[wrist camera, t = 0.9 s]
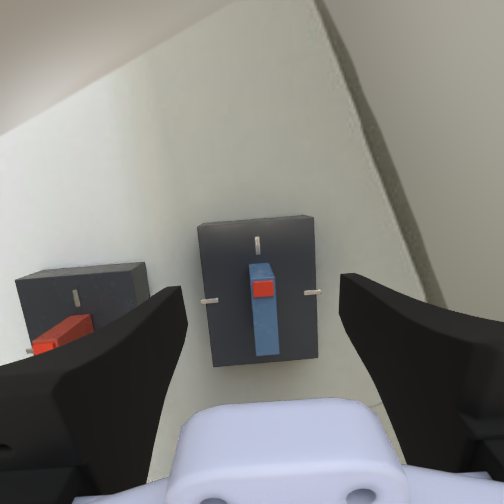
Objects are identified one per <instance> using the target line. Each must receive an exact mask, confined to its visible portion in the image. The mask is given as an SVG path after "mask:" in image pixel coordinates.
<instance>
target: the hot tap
mask: <svg viewBox="0 0 504 504" xmlns="http://www.w3.org/2000/svg"><path fill="white" fill-rule="evenodd" d="M92 332H94V329H93V324H92V319H91V314H84V315H72V316H69V317H68V318H66V319H65V320H63V321H62V322H60V323H59V324H57V325H56V326H54V327H53V328H51V329H50V330H48V331H47V332H45V333H44V334H42V335H41V336H39V337H38V338H36V339H35V340H33V341H32V343H33V346H32V348H33V352H34V356H35V355H38V354H41V353H43V352H46V351H49V350H52V349H54V348H57V347H60V346H62V345H65V344H67V343H69V342H72V341H74V340H76V339H78V338H81V337H83V336H85V335H88V334H90V333H92Z"/></svg>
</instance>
